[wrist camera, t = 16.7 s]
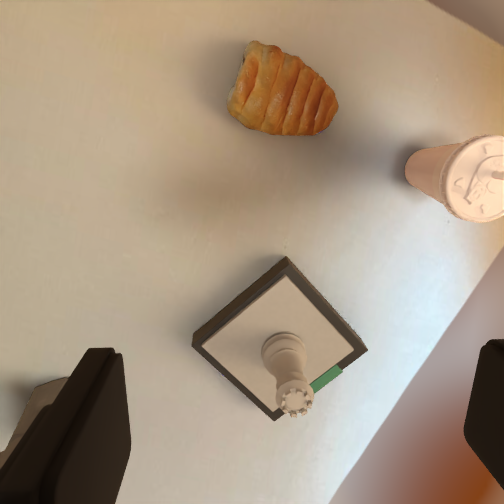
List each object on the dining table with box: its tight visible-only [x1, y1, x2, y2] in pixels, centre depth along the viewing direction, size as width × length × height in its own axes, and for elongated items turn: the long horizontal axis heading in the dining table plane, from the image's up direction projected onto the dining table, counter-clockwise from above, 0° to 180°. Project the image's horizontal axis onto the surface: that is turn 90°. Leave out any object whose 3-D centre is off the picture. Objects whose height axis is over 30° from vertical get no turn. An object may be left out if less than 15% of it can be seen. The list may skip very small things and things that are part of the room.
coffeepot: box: [0, 378, 68, 469], centre depth 34 cm, size 15×9×18 cm, turn 40°
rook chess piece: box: [262, 334, 314, 417], centre depth 35 cm, size 4×4×8 cm
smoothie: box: [405, 135, 504, 222], centre depth 30 cm, size 6×6×14 cm
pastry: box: [227, 41, 338, 136], centre depth 32 cm, size 9×7×4 cm
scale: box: [192, 257, 368, 421], centre depth 40 cm, size 13×13×3 cm
